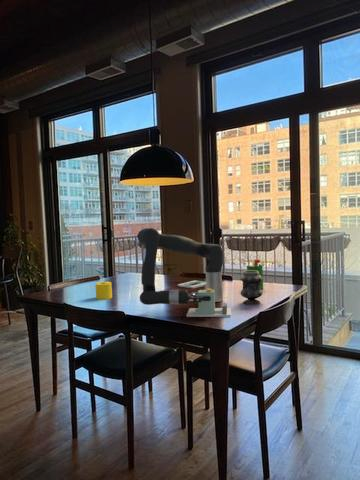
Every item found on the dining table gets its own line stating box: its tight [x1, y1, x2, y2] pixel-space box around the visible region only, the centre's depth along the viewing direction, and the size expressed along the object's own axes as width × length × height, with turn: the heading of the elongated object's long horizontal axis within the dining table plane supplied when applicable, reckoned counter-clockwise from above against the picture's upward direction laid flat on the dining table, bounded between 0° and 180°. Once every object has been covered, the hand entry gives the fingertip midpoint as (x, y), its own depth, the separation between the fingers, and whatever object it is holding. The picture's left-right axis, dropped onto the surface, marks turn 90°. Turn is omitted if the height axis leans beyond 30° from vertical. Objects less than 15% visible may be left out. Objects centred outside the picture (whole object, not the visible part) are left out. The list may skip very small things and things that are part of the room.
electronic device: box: [177, 280, 206, 289], centre depth 268 cm, size 18×2×15 cm
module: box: [197, 289, 216, 314], centre depth 191 cm, size 8×6×12 cm
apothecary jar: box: [239, 269, 263, 306], centre depth 210 cm, size 12×12×18 cm
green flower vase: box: [246, 258, 264, 291], centre depth 246 cm, size 10×9×20 cm
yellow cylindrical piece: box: [95, 281, 113, 301], centre depth 239 cm, size 10×10×9 cm
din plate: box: [186, 302, 232, 318], centre depth 193 cm, size 22×12×5 cm, turn 81°
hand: (211, 296), depth 191 cm, fingers open, 6 cm apart
